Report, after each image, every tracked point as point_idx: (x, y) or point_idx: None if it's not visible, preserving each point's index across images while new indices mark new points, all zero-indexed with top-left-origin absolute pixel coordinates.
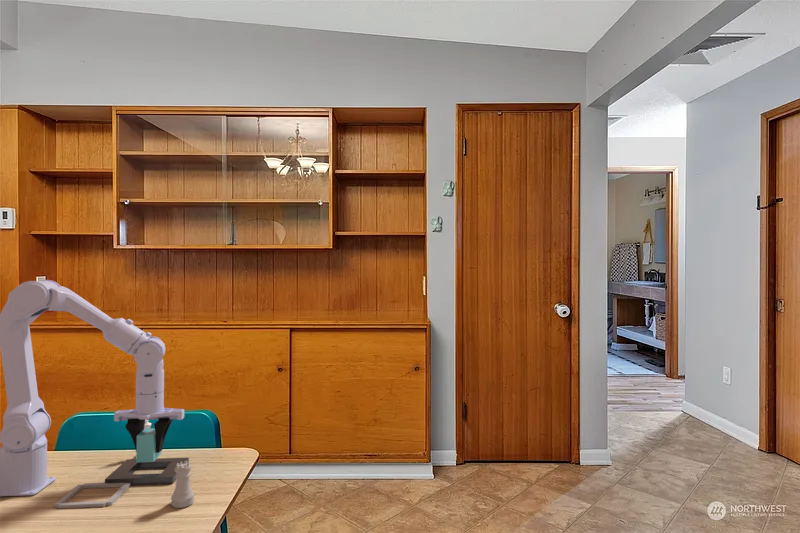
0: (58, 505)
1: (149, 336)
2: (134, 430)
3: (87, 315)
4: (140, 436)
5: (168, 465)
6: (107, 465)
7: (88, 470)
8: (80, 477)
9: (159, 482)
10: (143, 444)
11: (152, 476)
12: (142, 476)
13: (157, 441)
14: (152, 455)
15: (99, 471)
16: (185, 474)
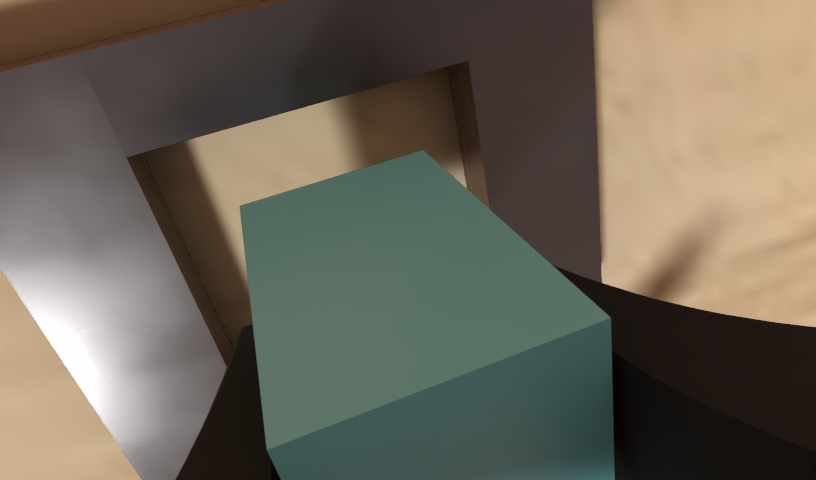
0: None
1: None
2: (737, 381)
3: None
4: (529, 332)
5: (202, 324)
6: (693, 267)
7: (770, 176)
8: (780, 65)
9: (66, 49)
10: (418, 272)
11: (157, 66)
12: (270, 50)
13: (247, 412)
14: (258, 236)
15: (703, 178)
16: None
